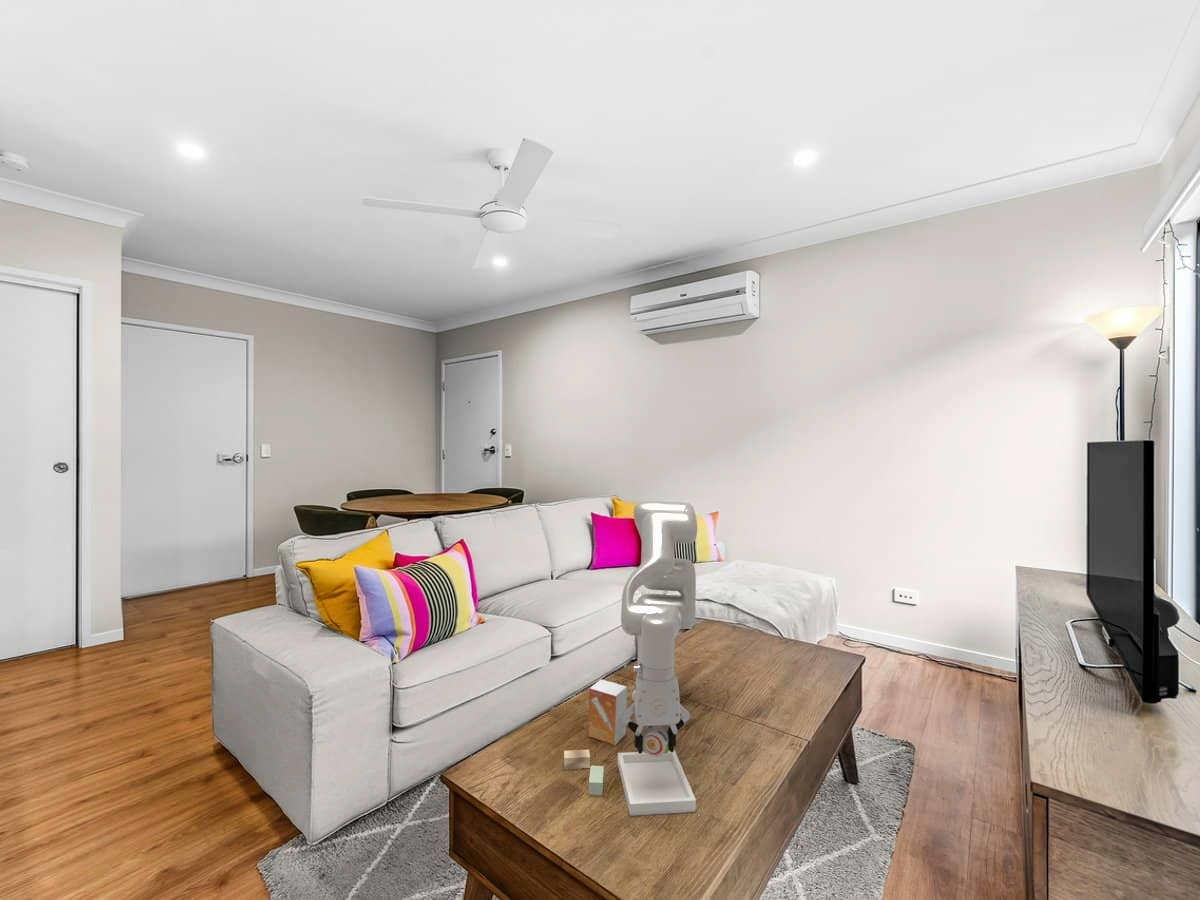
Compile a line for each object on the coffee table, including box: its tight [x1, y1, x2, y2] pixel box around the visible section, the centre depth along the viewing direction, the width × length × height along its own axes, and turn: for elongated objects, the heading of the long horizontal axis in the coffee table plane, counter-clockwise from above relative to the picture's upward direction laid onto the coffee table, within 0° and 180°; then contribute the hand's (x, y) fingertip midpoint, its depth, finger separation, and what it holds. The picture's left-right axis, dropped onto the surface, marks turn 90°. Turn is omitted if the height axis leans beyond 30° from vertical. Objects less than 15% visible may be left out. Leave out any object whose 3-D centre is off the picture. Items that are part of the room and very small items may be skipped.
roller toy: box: [642, 726, 670, 757], centre depth 121 cm, size 4×6×6 cm
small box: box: [587, 678, 628, 746], centre depth 142 cm, size 8×6×13 cm
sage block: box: [588, 765, 605, 796], centre depth 122 cm, size 6×3×3 cm, turn 177°
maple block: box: [563, 749, 591, 770], centre depth 129 cm, size 6×3×3 cm, turn 96°
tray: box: [617, 749, 697, 817], centre depth 122 cm, size 18×14×2 cm
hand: (654, 748), depth 122 cm, fingers closed on roller toy, 6 cm apart
